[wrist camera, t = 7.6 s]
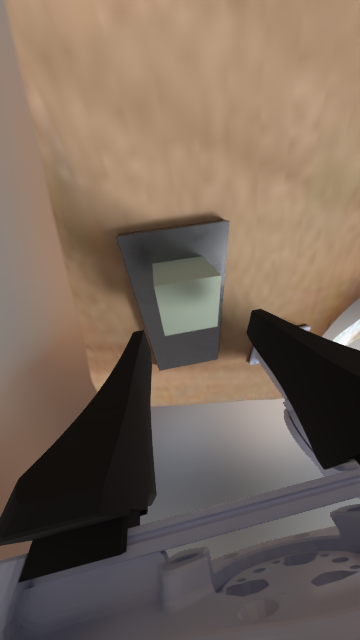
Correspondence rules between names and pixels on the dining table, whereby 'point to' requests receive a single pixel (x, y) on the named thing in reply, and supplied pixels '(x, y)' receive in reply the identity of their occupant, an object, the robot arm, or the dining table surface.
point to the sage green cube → (187, 294)
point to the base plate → (138, 261)
